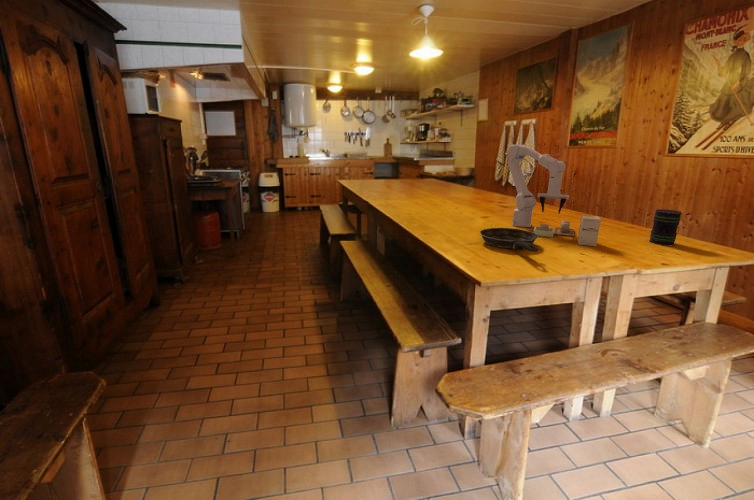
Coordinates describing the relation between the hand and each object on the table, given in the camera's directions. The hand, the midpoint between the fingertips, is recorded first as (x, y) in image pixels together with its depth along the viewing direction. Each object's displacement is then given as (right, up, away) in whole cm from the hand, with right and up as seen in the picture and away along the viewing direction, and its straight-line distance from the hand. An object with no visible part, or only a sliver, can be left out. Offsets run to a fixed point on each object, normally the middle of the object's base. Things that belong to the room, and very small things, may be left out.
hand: (550, 212), depth 204 cm
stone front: (-6, -11, -5) cm, 13 cm away
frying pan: (-29, -19, -28) cm, 45 cm away
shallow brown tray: (+7, -10, 0) cm, 12 cm away
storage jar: (+44, -16, -17) cm, 50 cm away
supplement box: (+8, -17, -20) cm, 27 cm away
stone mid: (+7, -10, 0) cm, 12 cm away
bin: (-6, -12, -5) cm, 14 cm away
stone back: (+9, -9, +4) cm, 13 cm away
